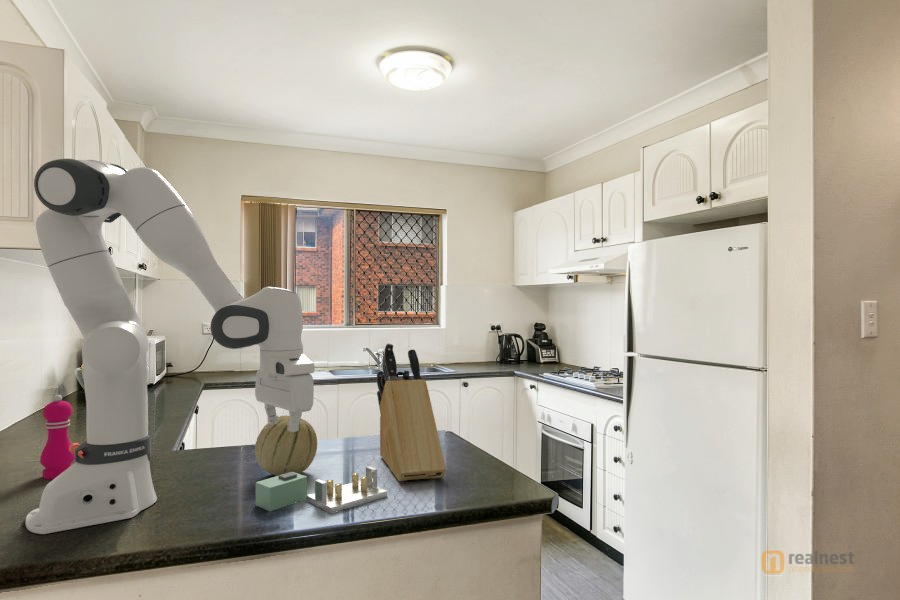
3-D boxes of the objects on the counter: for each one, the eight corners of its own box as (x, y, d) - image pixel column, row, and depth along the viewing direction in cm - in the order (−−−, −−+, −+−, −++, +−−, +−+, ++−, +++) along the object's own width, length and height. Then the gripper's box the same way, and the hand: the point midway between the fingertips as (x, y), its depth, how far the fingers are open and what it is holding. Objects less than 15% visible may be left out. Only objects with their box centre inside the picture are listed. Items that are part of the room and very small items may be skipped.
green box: (270, 512, 111) (270, 484, 111) (255, 506, 114) (255, 479, 114) (307, 499, 117) (307, 473, 117) (292, 494, 121) (292, 468, 121)
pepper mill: (72, 468, 140) (72, 391, 140) (78, 475, 135) (78, 394, 135) (37, 475, 135) (37, 394, 135) (42, 482, 130) (42, 398, 130)
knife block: (411, 444, 161) (411, 340, 161) (447, 482, 128) (446, 350, 128) (374, 448, 158) (373, 342, 158) (400, 487, 124) (399, 352, 124)
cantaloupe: (243, 476, 133) (243, 415, 133) (295, 462, 144) (294, 406, 144) (277, 489, 123) (277, 423, 123) (330, 473, 134) (329, 413, 134)
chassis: (330, 513, 109) (330, 487, 109) (306, 500, 116) (306, 476, 116) (387, 496, 119) (387, 472, 119) (361, 485, 126) (361, 462, 126)
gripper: (247, 360, 121) (248, 422, 121) (290, 368, 106) (291, 438, 106) (274, 358, 126) (274, 417, 126) (318, 365, 111) (319, 432, 111)
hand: (282, 427), depth 116 cm, fingers open, 8 cm apart
